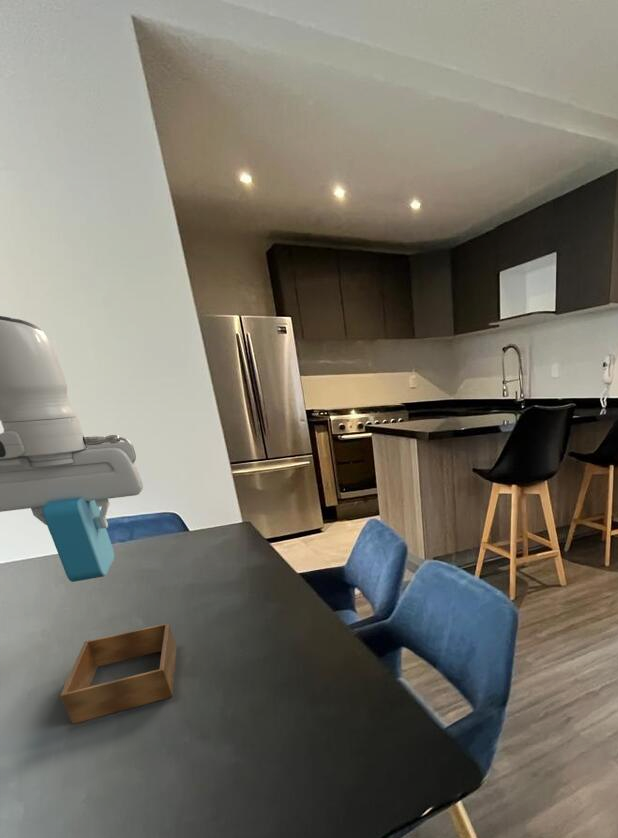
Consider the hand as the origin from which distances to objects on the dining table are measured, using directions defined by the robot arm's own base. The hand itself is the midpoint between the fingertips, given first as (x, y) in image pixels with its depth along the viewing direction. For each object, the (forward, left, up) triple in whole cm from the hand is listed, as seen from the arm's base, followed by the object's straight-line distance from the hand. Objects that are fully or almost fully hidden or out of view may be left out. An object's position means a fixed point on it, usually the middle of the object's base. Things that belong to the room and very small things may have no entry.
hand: (80, 531), depth 77 cm
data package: (0, 0, -7) cm, 7 cm away
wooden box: (+1, -6, -25) cm, 25 cm away
